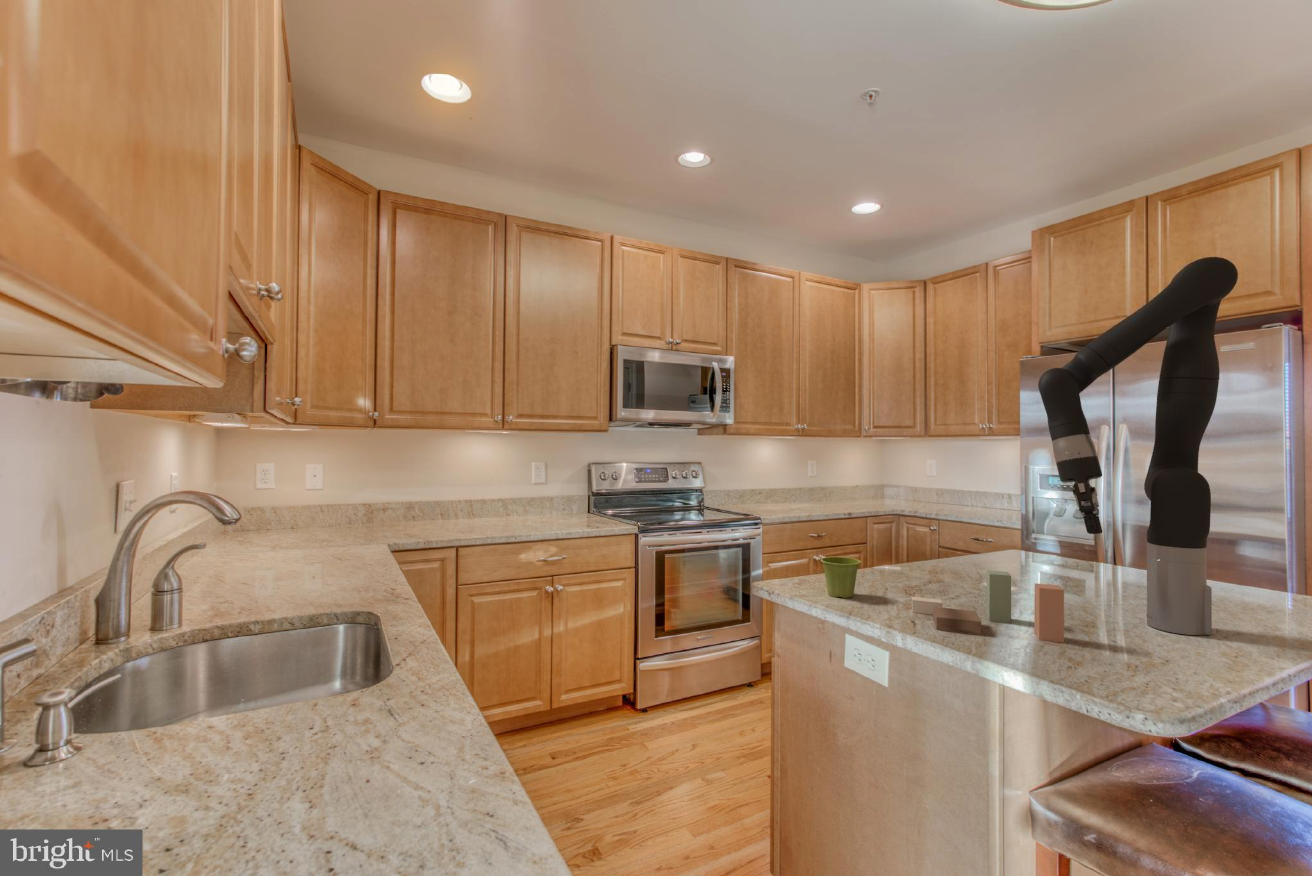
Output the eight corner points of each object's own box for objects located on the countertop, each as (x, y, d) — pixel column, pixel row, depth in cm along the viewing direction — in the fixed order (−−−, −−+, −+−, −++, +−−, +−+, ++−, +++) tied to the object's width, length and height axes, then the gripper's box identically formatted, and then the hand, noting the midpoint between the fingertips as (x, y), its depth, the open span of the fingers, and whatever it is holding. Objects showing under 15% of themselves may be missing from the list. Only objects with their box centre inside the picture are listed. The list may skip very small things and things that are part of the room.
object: (838, 601, 140) (839, 565, 140) (812, 592, 148) (812, 558, 148) (868, 597, 144) (869, 562, 144) (841, 589, 152) (841, 555, 152)
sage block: (1007, 618, 128) (1007, 571, 128) (1011, 623, 124) (1011, 575, 124) (986, 616, 129) (986, 570, 129) (989, 621, 125) (989, 574, 126)
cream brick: (941, 612, 132) (941, 599, 132) (942, 616, 129) (942, 602, 129) (911, 609, 134) (911, 596, 134) (912, 613, 131) (912, 600, 131)
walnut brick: (975, 625, 124) (975, 611, 124) (981, 636, 116) (981, 621, 116) (933, 620, 127) (933, 606, 127) (936, 631, 119) (936, 616, 119)
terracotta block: (1058, 636, 116) (1058, 585, 116) (1063, 642, 112) (1063, 589, 112) (1034, 633, 117) (1034, 583, 117) (1039, 639, 114) (1039, 587, 114)
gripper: (1095, 451, 120) (1116, 531, 116) (1099, 458, 131) (1118, 531, 127) (1051, 458, 125) (1071, 535, 121) (1059, 464, 136) (1076, 535, 132)
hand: (1095, 533), depth 124 cm, fingers open, 8 cm apart
